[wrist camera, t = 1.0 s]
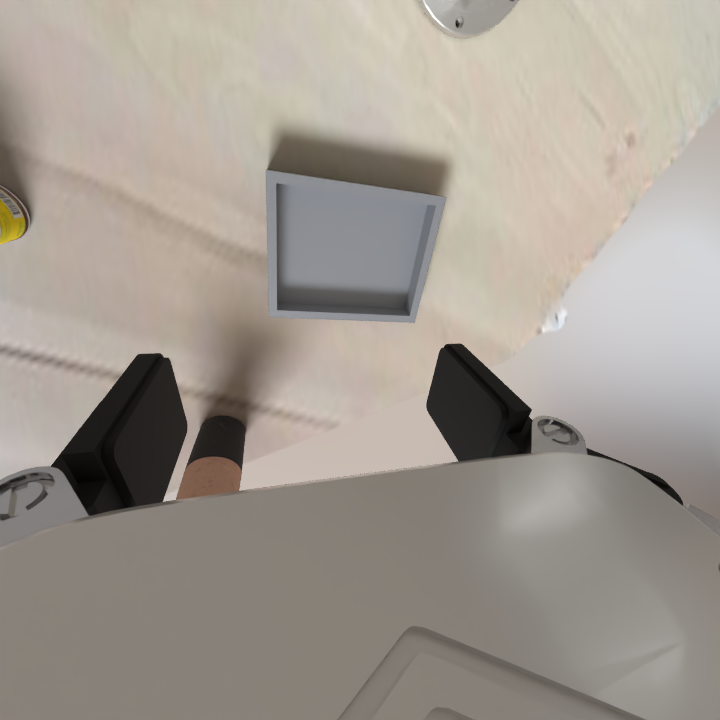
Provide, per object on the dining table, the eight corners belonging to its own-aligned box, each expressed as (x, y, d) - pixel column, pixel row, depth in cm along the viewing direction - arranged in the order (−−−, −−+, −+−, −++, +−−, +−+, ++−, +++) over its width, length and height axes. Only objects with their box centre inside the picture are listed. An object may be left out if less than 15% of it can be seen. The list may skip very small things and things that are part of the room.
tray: (267, 169, 33) (265, 170, 30) (434, 194, 38) (446, 197, 35) (270, 306, 41) (268, 317, 39) (406, 312, 46) (414, 322, 43)
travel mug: (257, 430, 53) (244, 551, 37) (224, 453, 54) (198, 579, 38) (222, 406, 49) (190, 531, 32) (187, 431, 50) (140, 563, 34)
